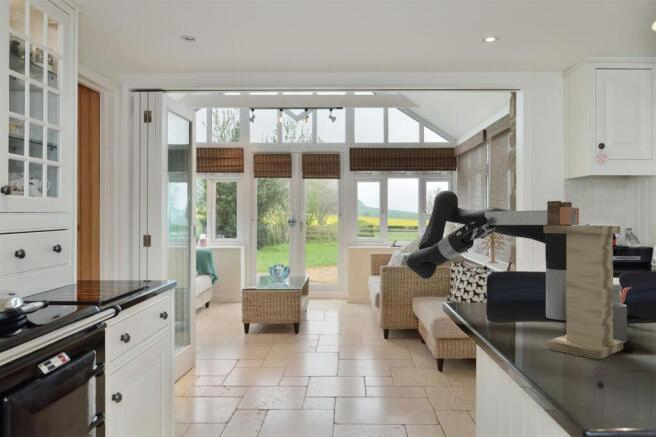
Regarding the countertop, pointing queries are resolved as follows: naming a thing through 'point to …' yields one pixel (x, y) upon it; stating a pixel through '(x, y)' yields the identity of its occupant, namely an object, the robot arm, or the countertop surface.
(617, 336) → the coffee mug
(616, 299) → the salt shaker
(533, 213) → the bar
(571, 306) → the shelf stand
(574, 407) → the countertop surface
